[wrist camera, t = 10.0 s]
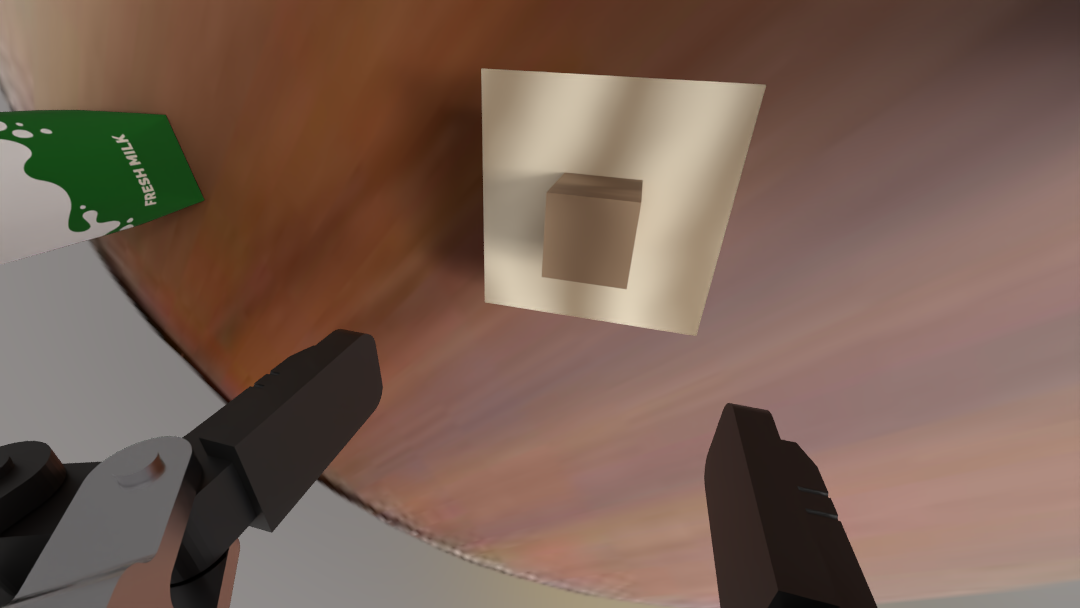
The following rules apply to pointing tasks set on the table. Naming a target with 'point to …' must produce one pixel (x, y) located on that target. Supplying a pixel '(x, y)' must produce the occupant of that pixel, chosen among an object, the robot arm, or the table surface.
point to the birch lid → (610, 192)
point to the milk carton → (85, 177)
